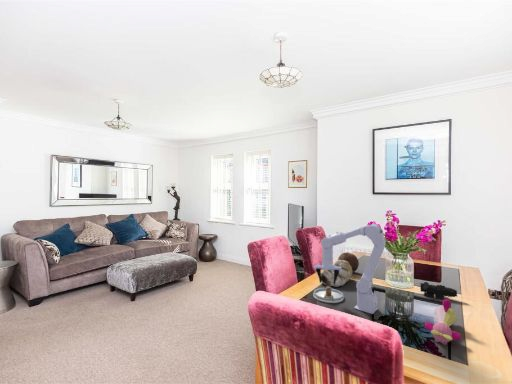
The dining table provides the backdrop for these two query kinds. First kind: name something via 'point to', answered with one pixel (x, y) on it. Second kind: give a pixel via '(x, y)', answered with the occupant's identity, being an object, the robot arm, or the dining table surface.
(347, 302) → the dining table surface
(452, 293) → the night vision scope
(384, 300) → the dining table surface
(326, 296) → the gear
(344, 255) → the wooden sphere
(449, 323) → the toy
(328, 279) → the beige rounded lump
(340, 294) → the carrier plate
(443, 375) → the dining table surface
